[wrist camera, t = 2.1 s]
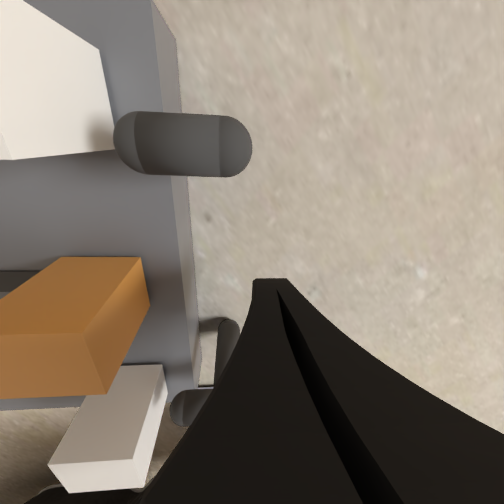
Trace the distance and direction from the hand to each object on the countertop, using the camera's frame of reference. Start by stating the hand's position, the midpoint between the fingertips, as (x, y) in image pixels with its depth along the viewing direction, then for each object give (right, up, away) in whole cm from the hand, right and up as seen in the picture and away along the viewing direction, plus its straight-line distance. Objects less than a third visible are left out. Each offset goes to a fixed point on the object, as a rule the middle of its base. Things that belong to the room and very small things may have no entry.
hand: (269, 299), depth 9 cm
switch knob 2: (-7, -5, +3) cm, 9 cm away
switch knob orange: (-7, +1, 0) cm, 7 cm away
